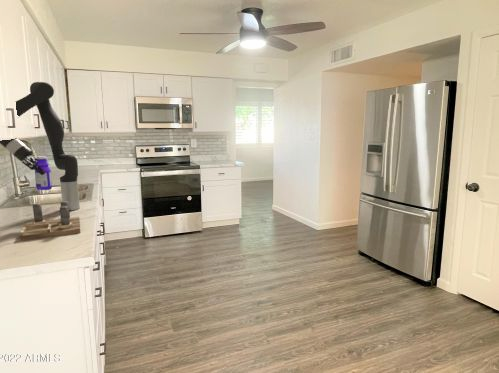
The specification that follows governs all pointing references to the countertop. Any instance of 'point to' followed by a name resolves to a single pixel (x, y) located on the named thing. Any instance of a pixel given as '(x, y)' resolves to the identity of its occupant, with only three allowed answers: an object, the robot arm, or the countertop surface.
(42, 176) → the bottle
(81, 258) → the countertop surface
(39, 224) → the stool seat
